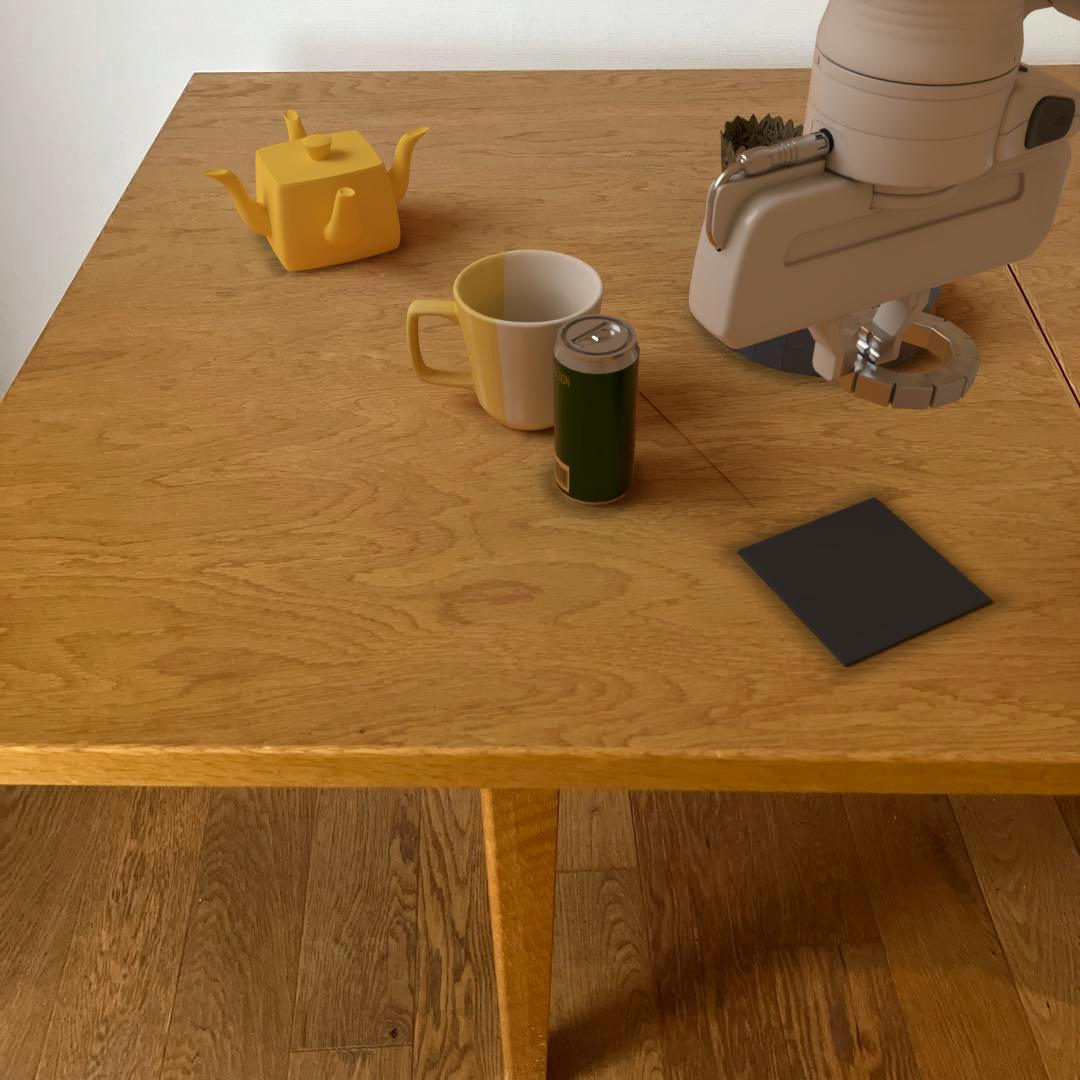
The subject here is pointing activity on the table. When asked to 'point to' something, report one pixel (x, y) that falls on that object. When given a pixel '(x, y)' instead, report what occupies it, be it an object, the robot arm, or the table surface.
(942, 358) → the ring
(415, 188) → the table surface
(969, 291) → the table surface
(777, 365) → the bowl
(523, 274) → the mug
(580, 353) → the beer can
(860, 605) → the mat
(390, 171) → the teapot
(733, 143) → the cup
